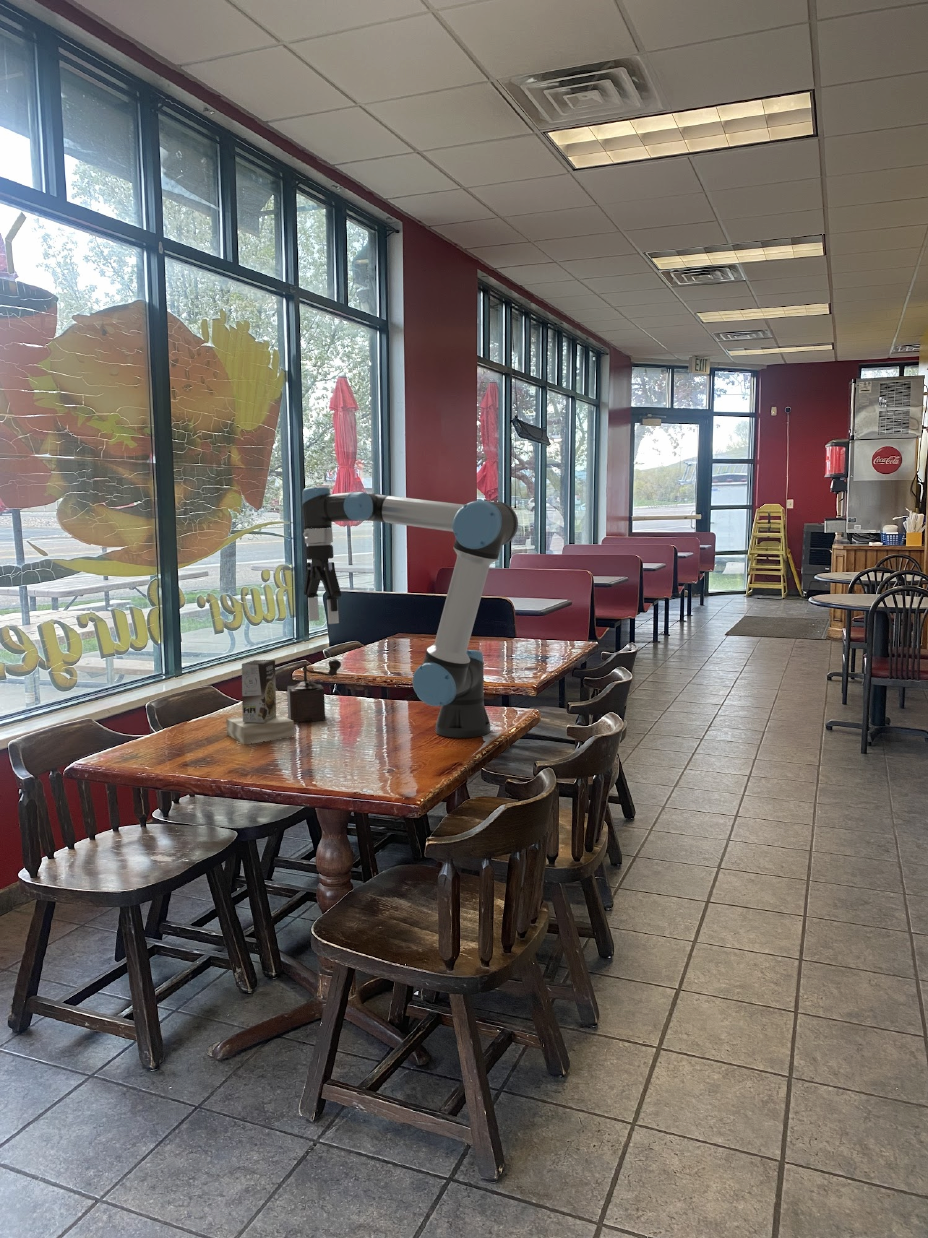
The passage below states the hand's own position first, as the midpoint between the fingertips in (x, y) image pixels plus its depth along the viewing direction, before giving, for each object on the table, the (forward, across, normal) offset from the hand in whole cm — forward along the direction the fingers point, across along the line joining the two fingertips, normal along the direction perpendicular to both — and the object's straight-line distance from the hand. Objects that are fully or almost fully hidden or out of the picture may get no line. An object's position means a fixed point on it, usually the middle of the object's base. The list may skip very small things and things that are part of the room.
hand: (323, 622), depth 249 cm
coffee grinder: (+31, -20, +4) cm, 37 cm away
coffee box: (+26, -7, -17) cm, 32 cm away
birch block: (+31, -8, -17) cm, 36 cm away
